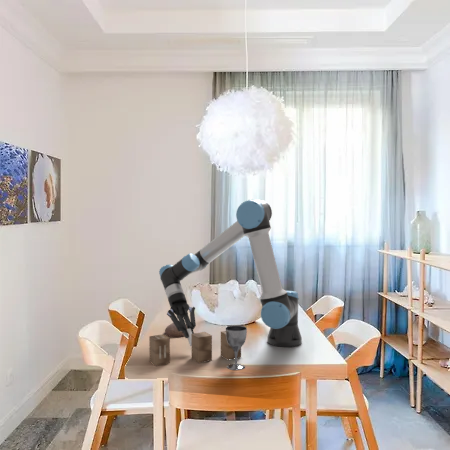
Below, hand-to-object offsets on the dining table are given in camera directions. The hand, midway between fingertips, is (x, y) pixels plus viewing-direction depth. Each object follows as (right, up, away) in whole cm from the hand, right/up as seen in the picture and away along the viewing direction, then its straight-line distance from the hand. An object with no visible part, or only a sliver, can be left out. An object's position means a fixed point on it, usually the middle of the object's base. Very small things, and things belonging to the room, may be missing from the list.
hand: (192, 344), depth 196 cm
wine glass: (+17, -5, -15) cm, 23 cm away
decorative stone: (-9, -3, +29) cm, 31 cm away
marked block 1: (-12, -5, -10) cm, 17 cm away
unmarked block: (+4, -4, -7) cm, 9 cm away
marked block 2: (+16, -4, -3) cm, 17 cm away
